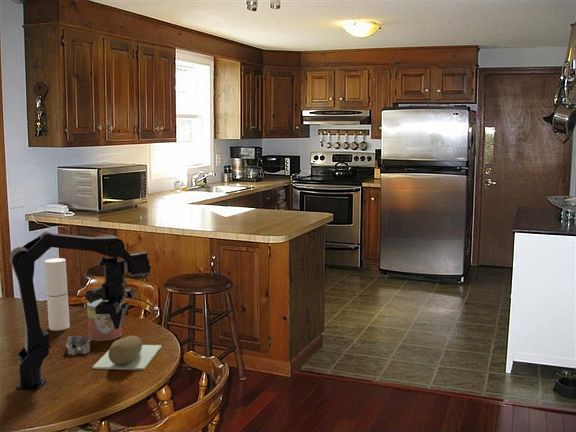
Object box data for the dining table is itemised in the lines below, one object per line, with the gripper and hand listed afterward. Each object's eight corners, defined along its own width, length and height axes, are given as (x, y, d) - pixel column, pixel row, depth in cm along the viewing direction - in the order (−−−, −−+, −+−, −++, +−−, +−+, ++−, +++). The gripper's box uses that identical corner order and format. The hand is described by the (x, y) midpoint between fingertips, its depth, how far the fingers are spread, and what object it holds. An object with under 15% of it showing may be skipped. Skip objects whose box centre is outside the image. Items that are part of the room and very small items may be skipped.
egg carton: (89, 354, 211) (89, 342, 210) (65, 356, 209) (64, 344, 209) (92, 343, 221) (91, 332, 221) (68, 345, 220) (68, 333, 219)
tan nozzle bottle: (99, 357, 196) (123, 343, 214) (120, 373, 195) (142, 357, 213) (113, 336, 195) (136, 323, 213) (135, 352, 194) (156, 338, 212)
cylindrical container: (48, 331, 234) (43, 263, 230) (49, 325, 241) (45, 259, 237) (69, 329, 236) (65, 261, 232) (70, 323, 243) (66, 257, 239)
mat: (144, 369, 197) (144, 367, 197) (92, 368, 198) (92, 367, 198) (161, 346, 216) (161, 345, 216) (114, 346, 218) (114, 344, 218)
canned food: (89, 342, 222) (87, 308, 220) (88, 332, 233) (86, 299, 231) (123, 338, 225) (121, 304, 224) (120, 328, 236) (119, 296, 234)
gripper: (99, 270, 204) (101, 319, 206) (75, 285, 185) (79, 338, 187) (134, 271, 203) (136, 319, 205) (114, 286, 184) (116, 339, 187)
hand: (117, 328), depth 196 cm, fingers closed
